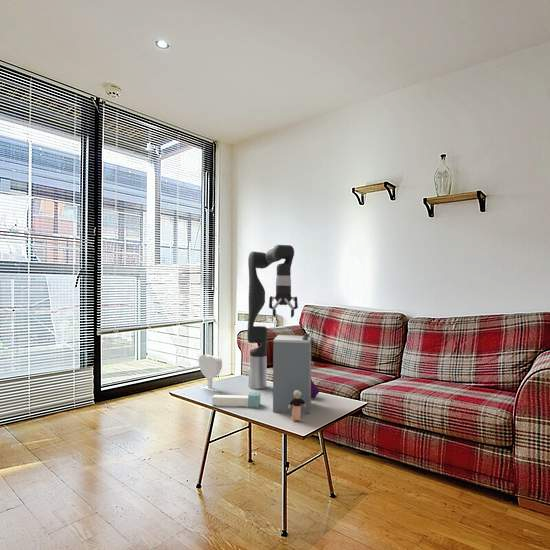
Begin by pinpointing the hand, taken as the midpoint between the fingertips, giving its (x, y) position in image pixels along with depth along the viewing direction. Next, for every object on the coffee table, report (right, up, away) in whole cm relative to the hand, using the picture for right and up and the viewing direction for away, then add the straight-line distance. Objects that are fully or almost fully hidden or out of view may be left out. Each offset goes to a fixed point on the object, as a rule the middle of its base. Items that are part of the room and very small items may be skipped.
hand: (283, 317), depth 203 cm
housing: (+4, -40, -16) cm, 43 cm away
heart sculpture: (-39, -40, +15) cm, 58 cm away
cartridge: (-23, -40, -13) cm, 48 cm away
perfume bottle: (+13, -40, +1) cm, 43 cm away
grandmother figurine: (+5, -40, -33) cm, 52 cm away
